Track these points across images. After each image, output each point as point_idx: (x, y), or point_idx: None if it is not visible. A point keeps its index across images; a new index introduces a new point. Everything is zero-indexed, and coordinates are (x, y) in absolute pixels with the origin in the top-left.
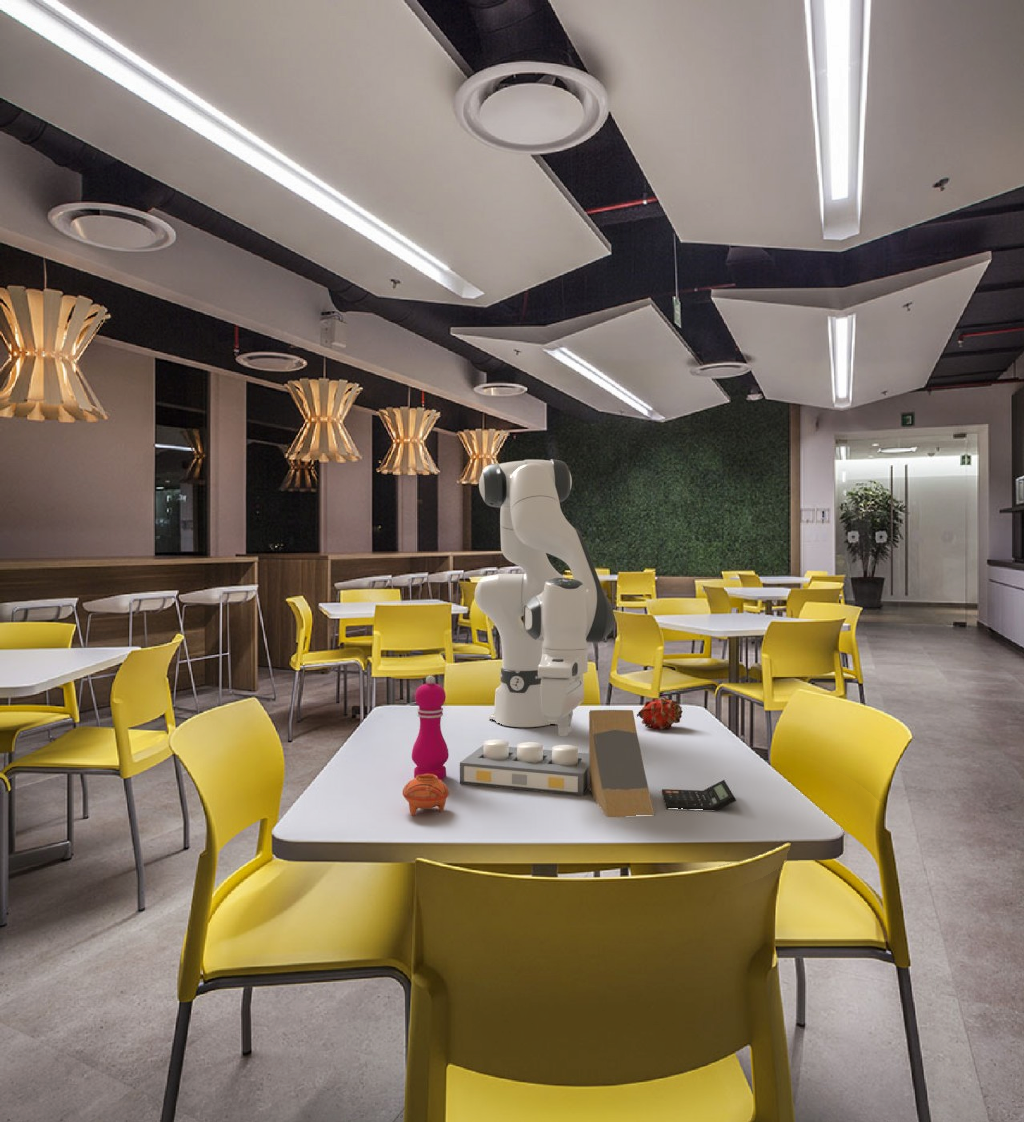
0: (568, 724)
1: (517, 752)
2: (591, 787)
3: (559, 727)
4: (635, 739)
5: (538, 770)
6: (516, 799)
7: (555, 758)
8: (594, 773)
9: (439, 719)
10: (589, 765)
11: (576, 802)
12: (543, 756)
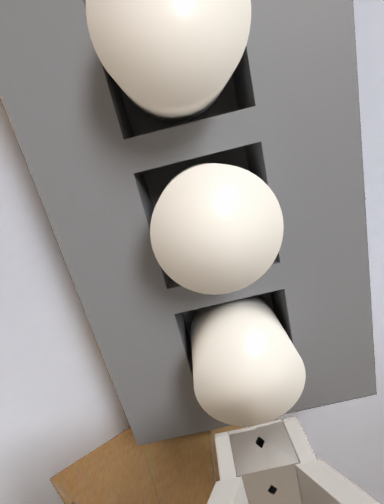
0: (300, 500)
1: (174, 178)
2: None
3: (222, 479)
4: None
5: (89, 321)
6: (7, 271)
7: (196, 345)
8: (139, 479)
9: None
10: None
11: (91, 400)
12: None
